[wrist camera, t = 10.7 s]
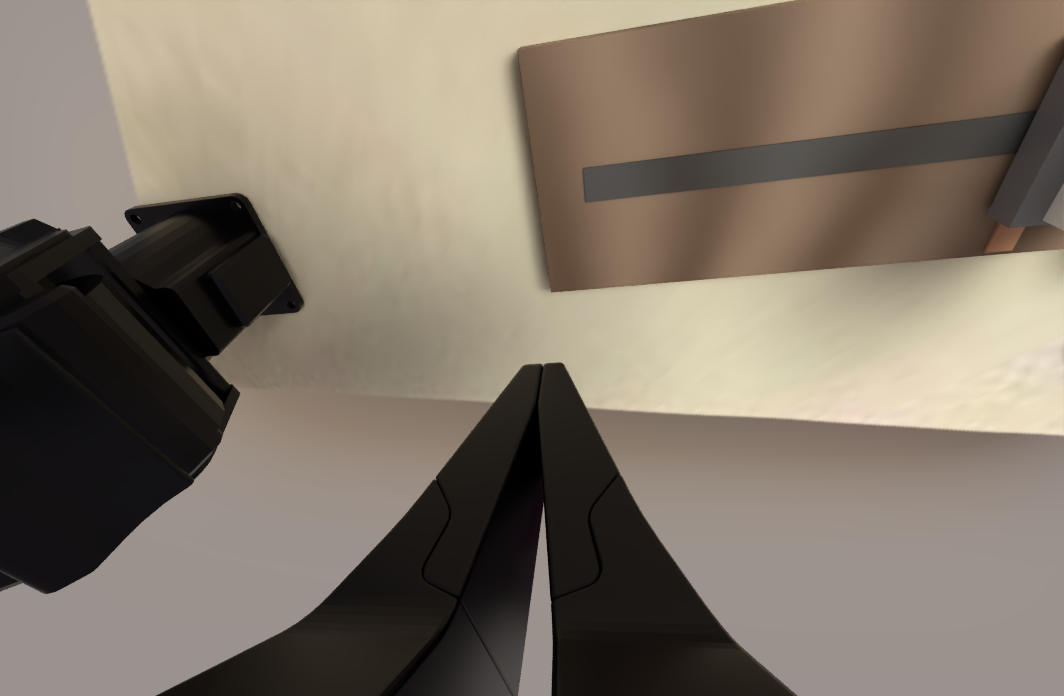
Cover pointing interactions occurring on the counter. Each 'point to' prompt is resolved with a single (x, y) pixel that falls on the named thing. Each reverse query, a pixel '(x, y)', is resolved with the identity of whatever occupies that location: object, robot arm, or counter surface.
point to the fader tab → (1037, 169)
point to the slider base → (786, 138)
